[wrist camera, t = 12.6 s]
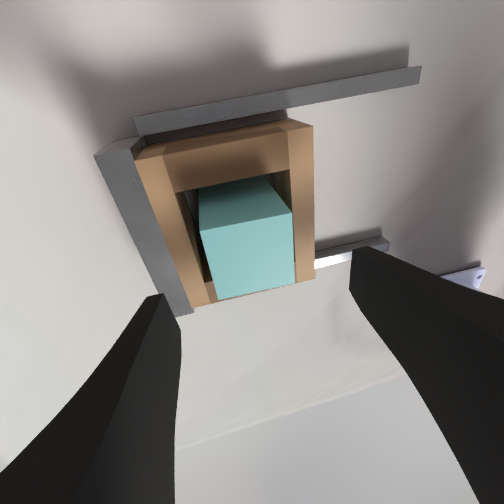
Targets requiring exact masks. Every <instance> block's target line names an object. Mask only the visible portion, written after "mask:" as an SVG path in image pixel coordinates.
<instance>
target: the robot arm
mask: <svg viewBox="0 0 504 504" xmlns="http://www.w3.org/2000/svg"><path fill="white" fill-rule="evenodd" d="M485 272H486V269H485V268H483V267H476V268H472V269H468V270H464V271H460V272H456V273H452V274H448V275H444V276H440V277H439V276H437V275H435V274H432V273H430V272H427V271H425V270H423V269H420V268H418V267H416V266H413V265H411V264H409V263H407V262H404V261H402V260H400V259H398V258H395V257H393V256H391V255H389V254H386V253H384V252H382V251H379V250H377V249H375V248H372V247H369V246H364V247H360V248H356V249H352V259H351V271H350V283H349V290H350V292H351V294H352V296H353V298H354V300H355V301H356V303H357V305H358V307H359V308H360V310H361V312H362V313H363V314H364V316H365V317H366V319H367V320H368V321H369V323H370V324H371V325H372V327H373V328H374V329H375V331H376V332H377V333H378V335H379V336H380V337H381V339H382V340H383V341H384V343H385V344H386V345H387V347H388V348H389V349H390V351H391V352H392V353H393V355H394V356H395V357H396V359H397V360H398V361H399V363H400V364H401V366H402V367H403V368H404V370H405V371H406V373H407V374H408V376H409V378H410V379H411V381H412V382H413V384H414V386H415V387H416V389H417V391H418V392H419V394H420V395H421V397H422V399H423V400H424V402H425V404H426V405H427V407H428V409H429V410H430V412H431V414H432V416H433V417H434V419H435V421H436V423H437V424H438V426H439V428H440V430H441V431H442V433H443V435H444V437H445V439H446V441H447V442H448V444H449V446H450V448H451V449H452V451H453V453H454V455H455V457H456V459H457V461H458V462H459V464H460V466H461V468H462V470H463V472H464V474H465V476H466V478H467V480H468V482H469V484H470V485H471V487H472V490H473V491H474V493H475V495H476V497H477V499H478V501H479V503H480V504H504V299H501V298H498V297H495V296H492V295H489V294H486V293H482V292H481V291H479V290H478V287H479V285H480V283H481V281H482V279H483V277H484V274H485ZM180 367H181V330H180V328H179V325H178V323H177V321H176V319H175V317H174V314H173V312H172V310H171V308H170V306H169V304H168V301H167V299H166V297H165V295H164V293H161V294H157V295H152V296H148V297H146V299H145V300H144V302H143V303H142V304H141V306H140V307H139V309H138V310H137V312H136V313H135V315H134V316H133V318H132V319H131V321H130V322H129V324H128V325H127V327H126V328H125V330H124V331H123V332H122V334H121V335H120V337H119V338H118V340H117V341H116V342H115V344H114V345H113V347H112V348H111V349H110V351H109V352H108V353H107V355H106V356H105V357H104V359H103V360H102V361H101V363H100V364H99V365H98V366H97V368H96V369H95V370H94V372H93V373H92V374H91V376H90V377H89V378H88V379H87V381H86V382H85V383H84V384H83V385H82V387H81V388H80V389H79V390H78V391H77V393H76V394H75V395H74V396H73V397H72V398H71V400H70V401H69V402H68V403H67V404H66V405H65V406H64V407H63V409H62V410H61V411H60V412H59V413H58V414H57V415H56V416H55V418H54V419H53V420H52V421H51V422H50V423H49V424H48V425H47V426H46V427H45V428H44V429H43V430H42V431H41V432H40V433H39V434H38V435H37V436H36V437H35V438H34V439H33V440H32V442H31V443H30V444H29V445H28V446H27V447H26V448H25V449H24V450H23V451H22V452H21V453H20V454H19V455H18V456H17V457H16V458H15V459H14V460H13V461H12V462H11V463H10V464H9V465H8V466H7V467H6V468H5V469H4V470H3V471H2V472H1V473H0V504H175V488H174V487H175V486H174V485H175V483H174V437H175V419H176V409H177V399H178V389H179V378H180Z"/></svg>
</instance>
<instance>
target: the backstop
mask: <svg viewBox="0 0 504 504" xmlns="http://www.w3.org/2000/svg"><path fill="white" fill-rule="evenodd" d="M421 68H422V66H412V67H405V68H400V69H394V70H389V71H383V72H378V73H372V74H367V75H361V76H356V77H350V78H345V79H339V80H334V81H328V82H323V83H318V84H312V85H307V86H301V87H296V88H290V89H285V90H279V91H274V92H268V93H263V94H257V95H252V96H246V97H241V98H236V99H230V100H225V101H219V102H214V103H208V104H203V105H197V106H192V107H186V108H181V109H175V110H170V111H164V112H159V113H154V114H148V115H143V116H137V117H135V118H133V121H134V123H135V126H136V129H137V132H138V134H139V136H138V137H132V138H127V139H122V140H116V141H114V142H112V143H111V144H109V145H108V146H106V147H105V148H103V149H102V150H100V151H99V152H97V153H96V154H94V155H93V156H94V158H95V160H96V163H97V165H98V167H99V169H100V171H101V173H102V175H103V177H104V179H105V182H106V184H107V186H108V188H109V190H110V192H111V194H112V196H113V198H114V201H115V203H116V205H117V207H118V209H119V211H120V213H121V215H122V217H123V219H124V222H125V224H126V226H127V228H128V230H129V232H130V234H131V236H132V238H133V241H134V243H135V245H136V247H137V249H138V251H139V253H140V255H141V257H142V259H143V262H144V264H145V266H146V268H147V270H148V272H149V274H150V276H151V278H152V281H153V283H154V285H155V287H156V289H157V291H158V293H159V294H161V293H164V295H165V297H166V299H167V301H168V304H169V306H170V308H171V310H172V312H173V314H174V317H178V316H182V315H187V314H191V313H194V308H192V307H191V305H190V302H189V300H188V297H187V295H186V292H185V290H184V287H183V285H182V282H181V280H180V277H179V274H178V272H177V269H176V267H175V264H174V262H173V259H172V257H171V254H170V252H169V249H168V247H167V244H166V241H165V239H164V236H163V234H162V231H161V229H160V226H159V224H158V221H157V219H156V216H155V214H154V211H153V209H152V206H151V203H150V201H149V198H148V196H147V193H146V191H145V188H144V186H143V183H142V181H141V178H140V176H139V173H138V170H137V168H136V165H135V163H134V160H135V159H136V158H137V157H138V155H139V154H140V153H141V152H142V151H143V149H144V148H145V147H146V146H147V144H146V141H145V139H144V135H149V134H155V133H160V132H165V131H170V130H176V129H181V128H186V127H192V126H197V125H202V124H208V123H213V122H218V121H223V120H229V119H234V118H239V117H245V116H250V115H255V114H261V113H266V112H271V111H276V110H282V109H287V108H292V107H298V106H303V105H308V104H314V103H319V102H324V101H329V100H335V99H340V98H345V97H351V96H356V95H361V94H367V93H372V92H377V91H382V90H388V89H393V88H398V87H404V86H409V85H414V84H419V79H420V73H421ZM389 245H390V242H389V241H387V240H386V239H385V238H384V237H382V236H380V237H376V238H372V239H368V240H363V241H359V242H355V243H350V244H346V245H342V246H337V247H333V248H329V249H325V250H320V251H316V252H315V268H319V267H323V266H328V265H332V264H336V263H340V262H345V261H349V260H351V259H352V249H356V248H360V247H364V246H369V247H372V248H375V249H377V250H379V251H382V252H387V251H388V250H389Z"/></svg>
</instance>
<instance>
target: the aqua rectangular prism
mask: <svg viewBox="0 0 504 504" xmlns="http://www.w3.org/2000/svg"><path fill="white" fill-rule="evenodd" d="M198 194H199V229H200V235H201V238H202V242H203V246H204V249H205V253H206V257H207V260H208V264H209V268H210V271H211V275H212V279H213V282H214V286H215V290H216V293H217V297H218V300H222V299H226V298H231V297H235V296H240V295H244V294H249V293H253V292H258V291H263V290H267V289H272V288H276V287H281V286H285V285H290V284H294V283H295V271H294V247H293V223H292V212H291V211H290V209H289V208H288V207H287V206H286V204H285V203H284V202H283V200H282V199H281V198H280V196H279V195H278V194H277V193H276V191H275V190H274V189H273V187H272V186H271V185H270V183H269V182H268V181H267V179H266V178H265V177H264V176H263V175H259V176H254V177H249V178H244V179H240V180H235V181H230V182H225V183H220V184H215V185H211V186H206V187H201V188H198Z"/></svg>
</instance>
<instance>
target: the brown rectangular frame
mask: <svg viewBox="0 0 504 504" xmlns="http://www.w3.org/2000/svg"><path fill="white" fill-rule="evenodd" d="M134 163H135V165H136V168H137V170H138V173H139V176H140V178H141V181H142V183H143V186H144V188H145V191H146V193H147V196H148V198H149V201H150V203H151V206H152V209H153V211H154V214H155V216H156V219H157V221H158V224H159V226H160V229H161V231H162V234H163V236H164V239H165V241H166V244H167V247H168V249H169V252H170V254H171V257H172V259H173V262H174V264H175V267H176V269H177V272H178V274H179V277H180V280H181V282H182V285H183V287H184V290H185V292H186V295H187V297H188V300H189V302H190V305H191V307H192V308H195V307H199V306H203V305H208V304H212V303H216V302H220V301H224V300H228V299H233V298H237V297H241V296H245V295H249V294H253V293H258V292H262V291H258V292H253V293H249V294H244V295H240V296H235V297H231V298H226V299H222V300H218V297H217V293H216V290H215V286H214V282H213V279H212V275H211V271H210V268H209V264H208V260H207V257H206V253H205V251H204V252H203V251H202V248H201V245H200V241H199V238H198V235H197V232H196V228H195V225H194V222H193V219H192V215H191V212H190V209H189V206H188V202H187V199H186V196H185V193H184V191H186V190H191V189H196V188H201V187H206V186H211V185H215V184H220V183H225V182H230V181H235V180H240V179H244V178H249V177H254V176H259V175H264V174H269V173H274V180H275V190H276V193H277V194H278V195H279V196H280V198H281V199H282V200H283V202H284V203H285V204H286V206H287V207H288V208H289V209H290V211H291V212H292V223H293V247H294V271H295V283H299V282H303V281H307V280H312V279H315V241H314V162H313V126H311V125H308V124H305V123H302V122H299V121H296V120H293V119H290V118H288V119H283V120H278V121H272V122H267V123H262V124H257V125H252V126H246V127H241V128H236V129H231V130H225V131H220V132H215V133H210V134H205V135H199V136H194V137H189V138H184V139H178V140H173V141H168V142H163V143H158V144H152V145H147V146H146V147H145V148H144V149H143V151H142V152H141V153H140V154H139V155H138V157H137V158H136V159H135V160H134ZM295 283H294V284H295ZM290 285H291V284H290ZM285 286H287V285H285ZM281 287H282V286H281ZM276 288H278V287H276ZM272 289H274V288H272ZM267 290H270V289H267ZM263 291H266V290H263Z"/></svg>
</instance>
